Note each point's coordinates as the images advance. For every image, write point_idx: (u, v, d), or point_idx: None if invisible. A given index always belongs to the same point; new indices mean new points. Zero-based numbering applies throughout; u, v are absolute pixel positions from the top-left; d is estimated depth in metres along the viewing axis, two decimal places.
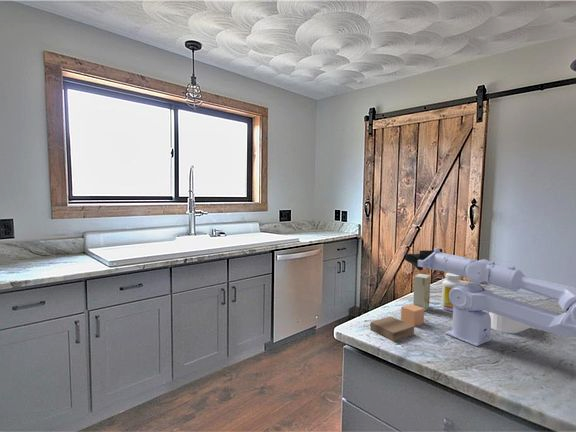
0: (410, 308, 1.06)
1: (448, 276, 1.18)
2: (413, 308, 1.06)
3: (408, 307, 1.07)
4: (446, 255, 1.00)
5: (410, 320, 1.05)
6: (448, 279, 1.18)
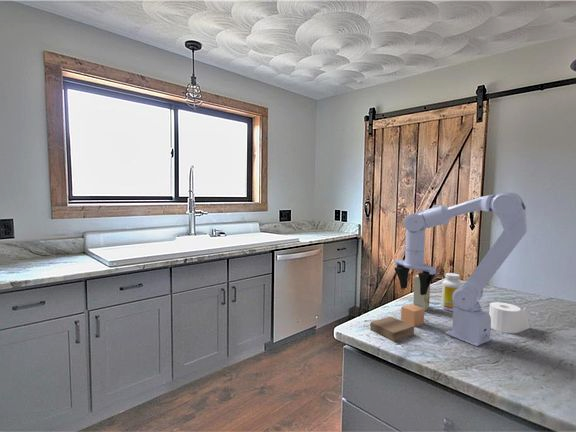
0: (410, 308, 1.06)
1: (448, 276, 1.18)
2: (413, 308, 1.06)
3: (408, 307, 1.07)
4: (412, 253, 1.03)
5: (410, 320, 1.05)
6: (448, 279, 1.18)
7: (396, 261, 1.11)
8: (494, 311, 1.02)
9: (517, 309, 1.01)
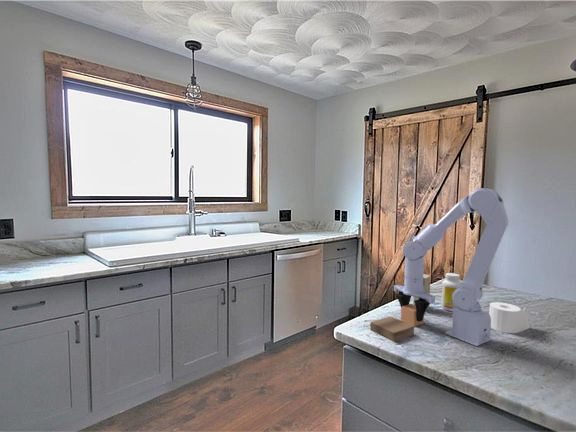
0: (410, 308, 1.06)
1: (448, 276, 1.18)
2: (413, 307, 1.06)
3: (408, 307, 1.07)
4: (411, 281, 1.04)
5: (410, 320, 1.05)
6: (448, 279, 1.18)
7: (395, 287, 1.11)
8: (494, 311, 1.02)
9: (517, 309, 1.01)
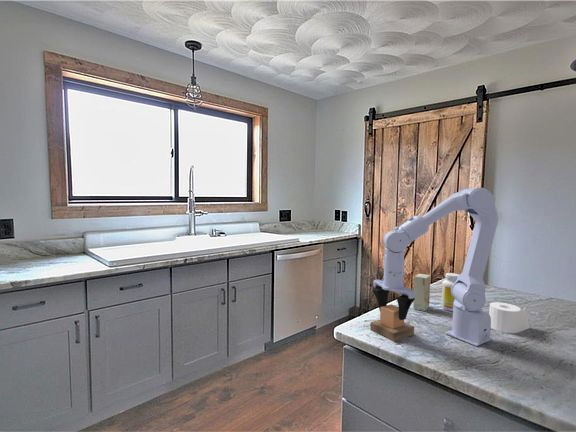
0: (390, 309, 0.98)
1: (448, 276, 1.18)
2: (393, 308, 0.98)
3: (388, 307, 0.99)
4: (390, 275, 0.96)
5: (389, 322, 0.97)
6: (448, 279, 1.18)
7: (375, 282, 1.03)
8: (494, 311, 1.02)
9: (517, 309, 1.01)
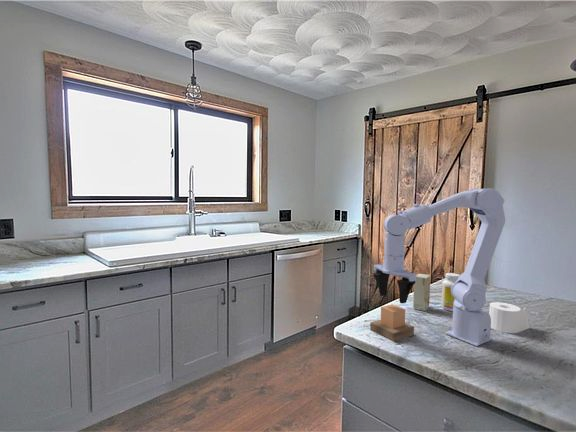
0: (390, 309, 0.98)
1: (448, 276, 1.18)
2: (393, 308, 0.99)
3: (388, 307, 0.99)
4: (390, 258, 0.95)
5: (390, 322, 0.97)
6: (448, 279, 1.18)
7: (375, 266, 1.03)
8: (494, 311, 1.02)
9: (517, 309, 1.01)
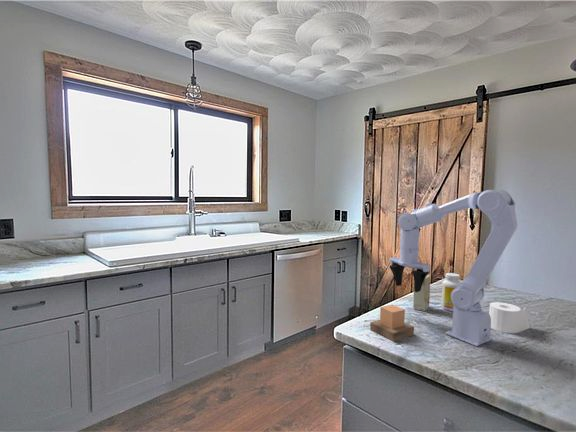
0: (389, 309, 0.98)
1: (448, 276, 1.18)
2: (393, 308, 0.98)
3: (388, 308, 0.99)
4: (406, 251, 1.06)
5: (389, 322, 0.97)
6: (448, 279, 1.18)
7: (391, 259, 1.14)
8: (494, 311, 1.02)
9: (517, 309, 1.01)
